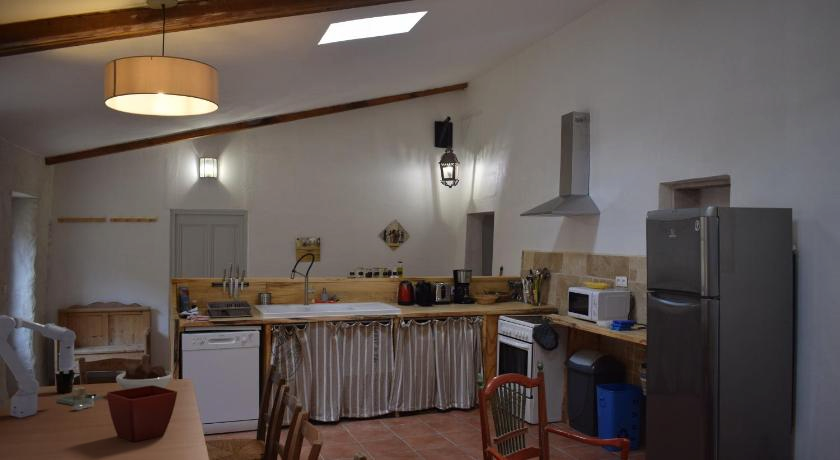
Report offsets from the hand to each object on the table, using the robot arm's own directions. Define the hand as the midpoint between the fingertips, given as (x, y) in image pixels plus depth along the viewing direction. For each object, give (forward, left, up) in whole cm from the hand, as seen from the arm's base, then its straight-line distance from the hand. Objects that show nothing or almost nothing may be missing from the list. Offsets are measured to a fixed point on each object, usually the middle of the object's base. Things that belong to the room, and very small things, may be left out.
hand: (65, 387), depth 295 cm
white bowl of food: (+36, -7, -10) cm, 38 cm away
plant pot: (-12, -63, -10) cm, 65 cm away
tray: (+10, +5, -9) cm, 15 cm away
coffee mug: (+21, +30, -10) cm, 38 cm away
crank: (+2, -10, -8) cm, 13 cm away
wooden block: (+10, +5, -9) cm, 14 cm away
